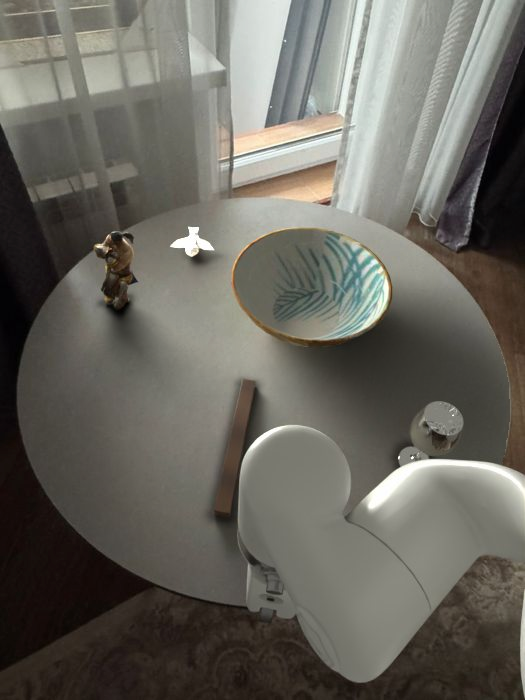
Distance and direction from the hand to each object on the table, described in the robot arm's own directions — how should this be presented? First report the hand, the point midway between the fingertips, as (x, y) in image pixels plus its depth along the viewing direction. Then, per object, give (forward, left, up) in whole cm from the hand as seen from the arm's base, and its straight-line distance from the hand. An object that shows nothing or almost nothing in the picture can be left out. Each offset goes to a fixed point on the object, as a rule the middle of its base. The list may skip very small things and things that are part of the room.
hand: (268, 579), depth 57 cm
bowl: (+43, 0, -3) cm, 43 cm away
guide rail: (+17, +7, -2) cm, 18 cm away
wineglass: (+19, -18, -3) cm, 26 cm away
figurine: (+39, +30, -3) cm, 49 cm away
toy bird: (+54, +22, -3) cm, 58 cm away
